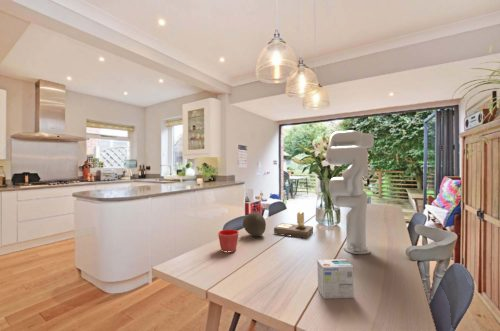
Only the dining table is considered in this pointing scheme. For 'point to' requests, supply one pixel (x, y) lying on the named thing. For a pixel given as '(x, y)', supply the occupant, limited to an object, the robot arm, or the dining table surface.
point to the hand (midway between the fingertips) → (358, 185)
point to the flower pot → (228, 239)
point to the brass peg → (300, 220)
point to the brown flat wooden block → (293, 230)
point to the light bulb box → (335, 278)
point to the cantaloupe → (254, 224)
